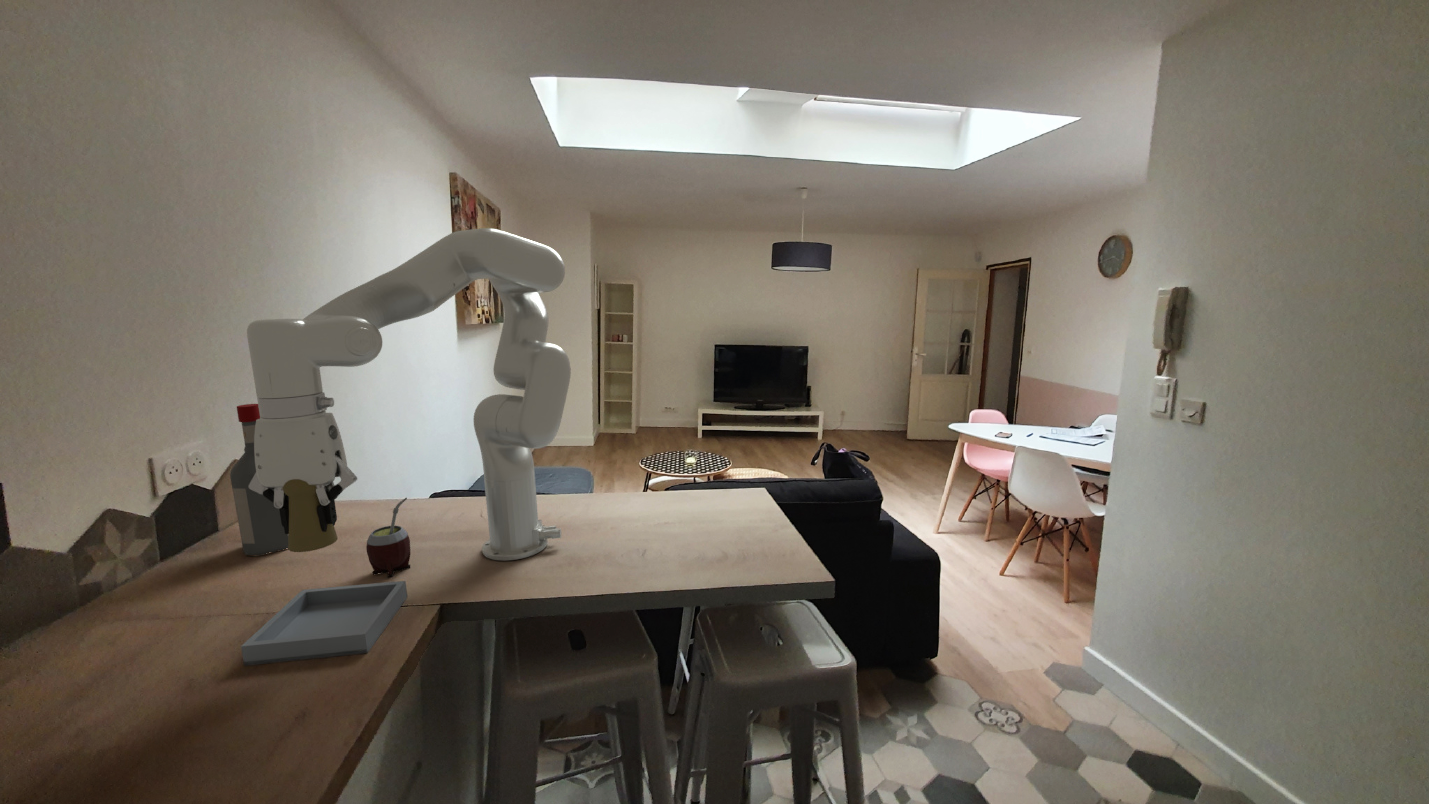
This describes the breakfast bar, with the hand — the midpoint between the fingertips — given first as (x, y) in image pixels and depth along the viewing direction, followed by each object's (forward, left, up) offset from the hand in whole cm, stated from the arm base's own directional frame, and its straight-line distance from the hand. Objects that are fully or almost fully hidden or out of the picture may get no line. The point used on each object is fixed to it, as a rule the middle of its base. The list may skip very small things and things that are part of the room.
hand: (310, 528), depth 84 cm
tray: (0, -2, -17) cm, 17 cm away
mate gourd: (-2, -21, -18) cm, 27 cm away
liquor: (+28, -38, -18) cm, 50 cm away
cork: (0, 0, -3) cm, 3 cm away
